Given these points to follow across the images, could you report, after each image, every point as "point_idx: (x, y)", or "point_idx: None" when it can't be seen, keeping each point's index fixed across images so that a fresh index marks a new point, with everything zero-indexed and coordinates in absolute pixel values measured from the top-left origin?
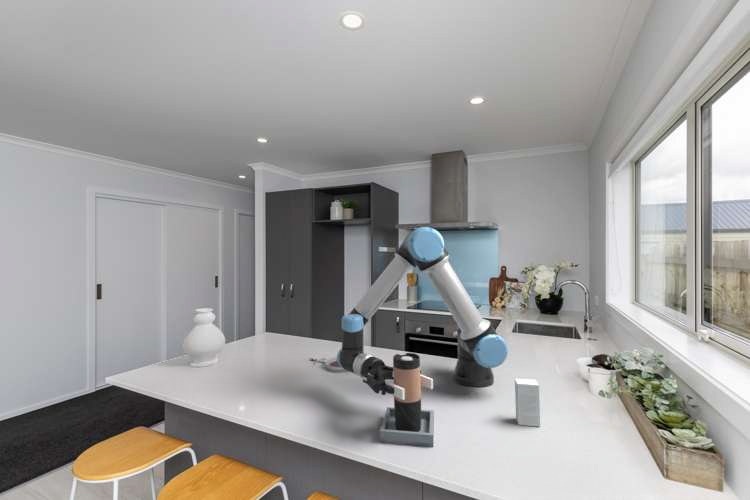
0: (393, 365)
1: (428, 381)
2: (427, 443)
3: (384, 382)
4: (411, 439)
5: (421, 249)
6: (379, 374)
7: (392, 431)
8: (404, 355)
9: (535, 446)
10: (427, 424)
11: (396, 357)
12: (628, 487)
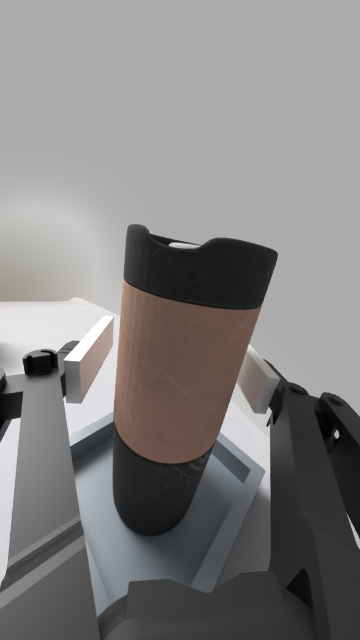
0: (262, 302)
1: (110, 330)
2: None
3: (291, 385)
4: None
5: None
6: (345, 542)
7: (231, 443)
8: (163, 248)
9: (64, 336)
10: (97, 454)
11: (237, 264)
12: (96, 308)
